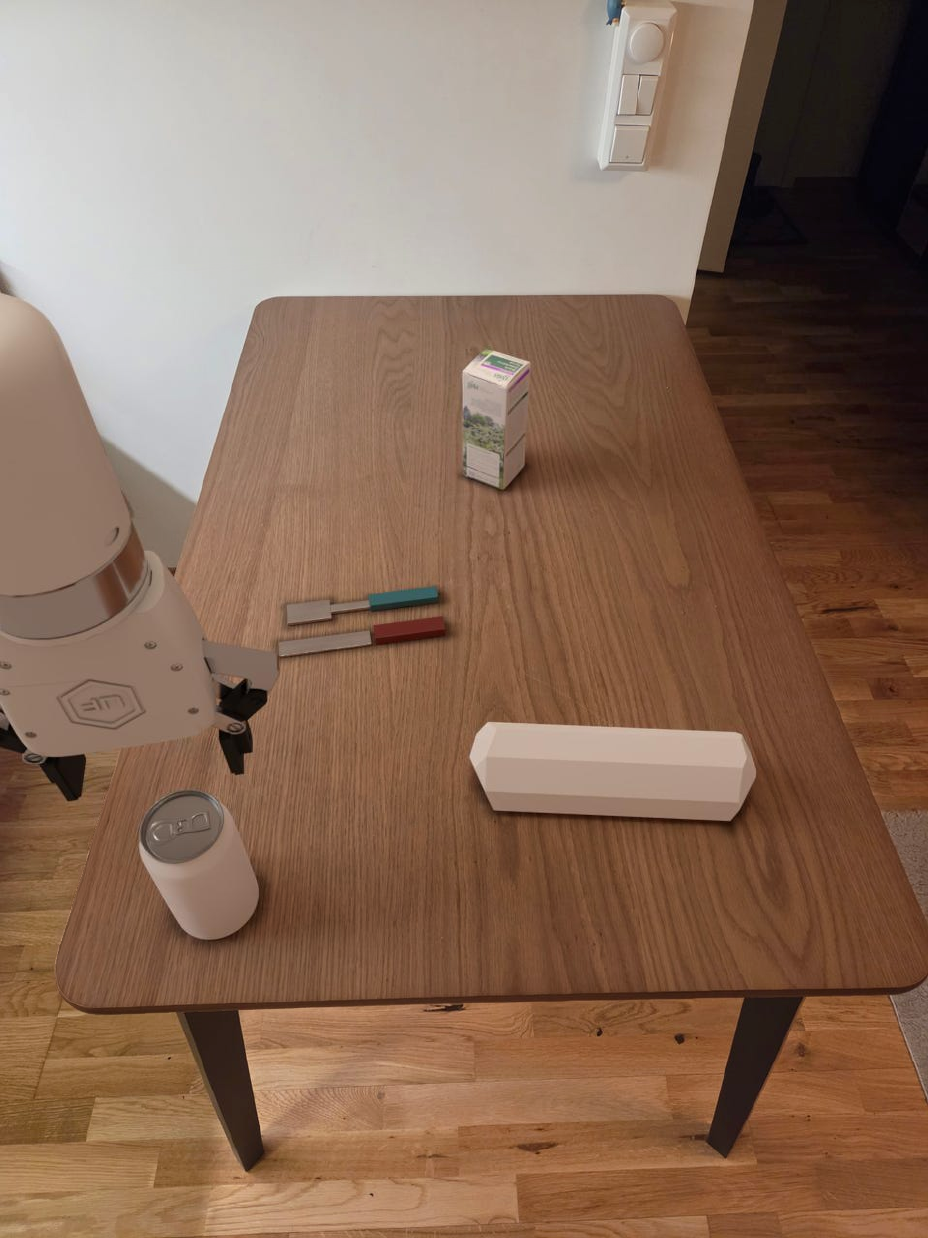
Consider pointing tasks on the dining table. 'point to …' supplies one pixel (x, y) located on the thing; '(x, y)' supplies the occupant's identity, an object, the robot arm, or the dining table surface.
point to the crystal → (613, 770)
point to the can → (199, 863)
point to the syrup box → (495, 417)
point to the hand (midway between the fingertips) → (159, 767)
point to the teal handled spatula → (359, 605)
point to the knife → (366, 637)
